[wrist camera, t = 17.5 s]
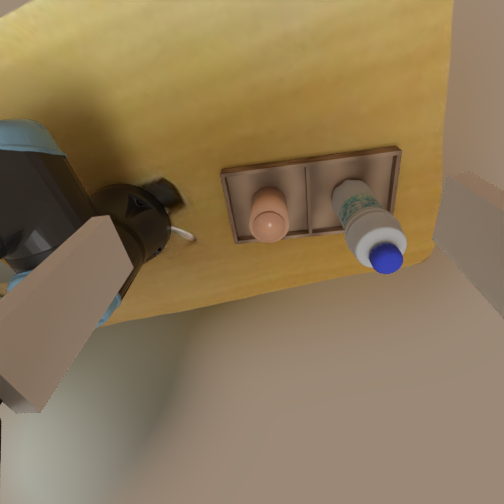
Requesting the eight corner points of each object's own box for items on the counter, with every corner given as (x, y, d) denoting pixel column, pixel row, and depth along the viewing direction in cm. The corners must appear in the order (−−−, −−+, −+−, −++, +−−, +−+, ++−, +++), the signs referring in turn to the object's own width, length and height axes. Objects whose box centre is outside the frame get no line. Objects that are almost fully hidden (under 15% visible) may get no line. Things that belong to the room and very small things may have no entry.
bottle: (333, 217, 51) (364, 294, 34) (324, 183, 47) (354, 250, 31) (372, 205, 49) (425, 280, 32) (365, 168, 46) (421, 231, 29)
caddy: (236, 237, 55) (235, 244, 53) (222, 169, 48) (220, 174, 46) (386, 221, 52) (391, 228, 50) (395, 146, 44) (402, 150, 42)
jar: (254, 220, 52) (252, 247, 44) (249, 189, 48) (245, 212, 41) (287, 216, 51) (291, 243, 44) (284, 184, 48) (288, 207, 40)
